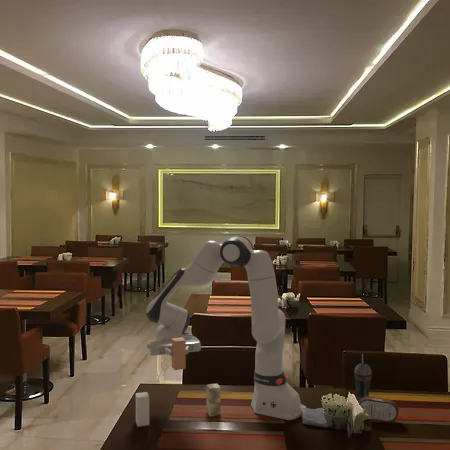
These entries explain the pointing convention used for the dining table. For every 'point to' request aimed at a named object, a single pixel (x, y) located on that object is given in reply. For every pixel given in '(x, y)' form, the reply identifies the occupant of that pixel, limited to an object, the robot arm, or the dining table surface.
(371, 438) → the dining table surface
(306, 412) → the stone block
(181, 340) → the terracotta block
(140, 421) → the white block
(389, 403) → the tin
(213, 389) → the birch block
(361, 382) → the beverage cup
